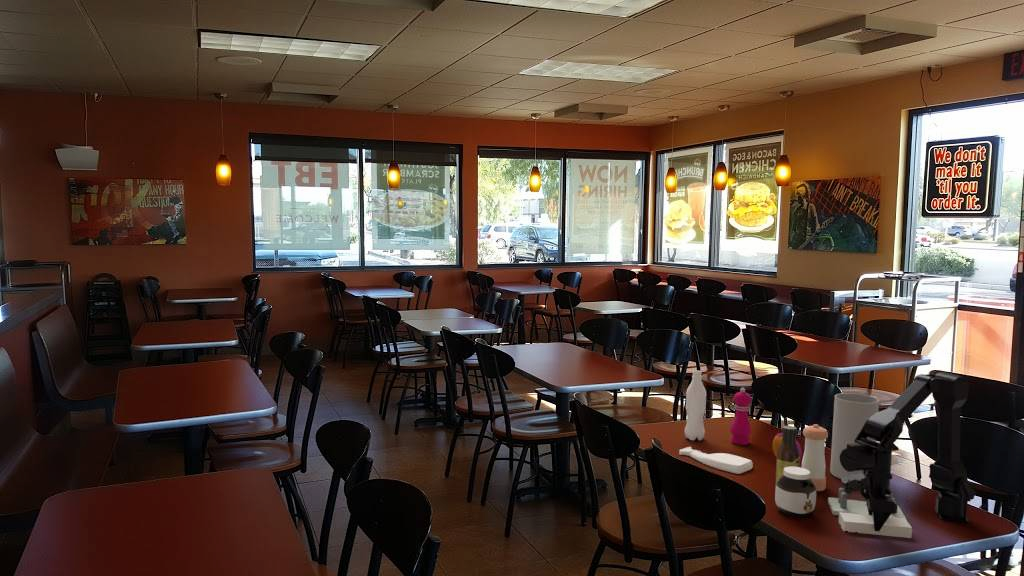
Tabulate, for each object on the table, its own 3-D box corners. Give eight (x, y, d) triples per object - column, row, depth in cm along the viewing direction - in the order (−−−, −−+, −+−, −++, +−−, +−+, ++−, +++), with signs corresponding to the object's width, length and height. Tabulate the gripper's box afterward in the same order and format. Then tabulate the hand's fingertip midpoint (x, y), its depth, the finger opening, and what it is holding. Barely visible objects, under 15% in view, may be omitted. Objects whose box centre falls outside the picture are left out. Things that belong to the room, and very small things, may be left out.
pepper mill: (725, 440, 265) (728, 386, 263) (742, 438, 267) (745, 384, 265) (737, 446, 258) (740, 390, 256) (755, 444, 260) (757, 389, 258)
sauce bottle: (799, 499, 210) (803, 431, 208) (776, 497, 211) (780, 430, 209) (795, 491, 216) (799, 425, 214) (773, 489, 217) (776, 423, 215)
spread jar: (787, 519, 196) (790, 477, 194) (762, 503, 206) (764, 463, 205) (825, 514, 199) (828, 473, 198) (798, 499, 210) (800, 459, 209)
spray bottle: (737, 476, 229) (672, 457, 247) (755, 468, 236) (691, 450, 254) (737, 467, 228) (672, 448, 247) (756, 459, 236) (691, 442, 254)
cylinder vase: (851, 467, 238) (856, 392, 235) (883, 480, 226) (888, 401, 223) (821, 471, 233) (825, 394, 231) (851, 485, 222) (856, 404, 219)
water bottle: (707, 438, 267) (710, 370, 265) (700, 442, 261) (703, 374, 259) (688, 434, 271) (690, 368, 269) (681, 439, 265) (684, 371, 263)
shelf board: (903, 529, 191) (904, 518, 191) (911, 539, 185) (912, 527, 185) (838, 523, 194) (839, 512, 194) (843, 532, 188) (844, 521, 188)
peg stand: (897, 509, 203) (899, 491, 203) (906, 523, 194) (907, 504, 193) (827, 501, 208) (829, 483, 208) (832, 514, 199) (834, 496, 198)
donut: (794, 459, 245) (795, 430, 244) (802, 468, 236) (804, 438, 235) (770, 458, 246) (771, 429, 245) (777, 467, 236) (778, 437, 235)
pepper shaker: (801, 480, 225) (805, 419, 223) (827, 485, 221) (830, 423, 219) (797, 488, 219) (800, 425, 217) (823, 493, 215) (827, 429, 213)
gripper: (839, 453, 199) (835, 508, 201) (850, 475, 181) (846, 536, 183) (883, 457, 196) (880, 513, 198) (899, 481, 178) (895, 542, 180)
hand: (874, 525), depth 190 cm, fingers closed on shelf board, 6 cm apart
